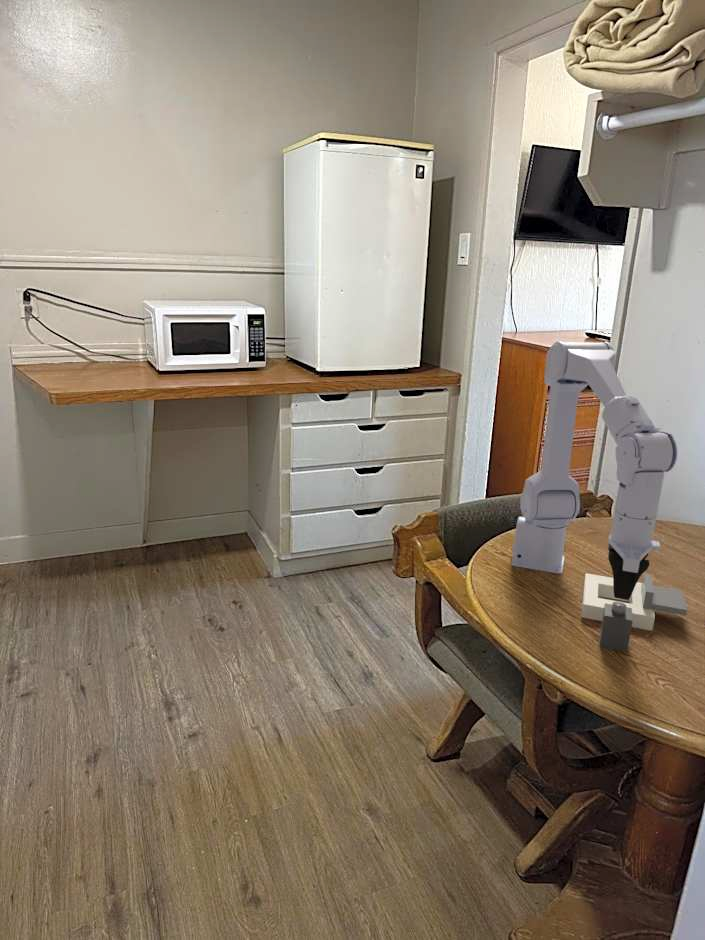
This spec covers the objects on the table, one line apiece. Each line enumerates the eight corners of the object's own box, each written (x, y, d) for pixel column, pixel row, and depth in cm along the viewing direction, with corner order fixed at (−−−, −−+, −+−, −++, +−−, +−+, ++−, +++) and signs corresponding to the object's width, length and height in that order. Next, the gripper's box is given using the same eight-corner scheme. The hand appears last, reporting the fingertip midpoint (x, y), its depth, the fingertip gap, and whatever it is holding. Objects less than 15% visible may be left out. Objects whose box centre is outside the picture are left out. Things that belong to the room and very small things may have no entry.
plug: (599, 646, 104) (605, 608, 102) (599, 633, 108) (605, 596, 106) (627, 652, 103) (633, 613, 101) (626, 638, 107) (633, 601, 105)
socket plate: (581, 617, 112) (583, 604, 112) (583, 585, 123) (585, 573, 122) (652, 630, 109) (654, 617, 108) (648, 596, 120) (650, 584, 119)
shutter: (642, 607, 111) (645, 591, 110) (641, 588, 117) (643, 573, 116) (686, 615, 109) (689, 599, 108) (681, 595, 115) (685, 580, 114)
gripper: (669, 535, 91) (652, 623, 95) (661, 499, 104) (647, 578, 108) (613, 527, 93) (599, 613, 97) (613, 493, 106) (600, 570, 110)
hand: (621, 594), depth 103 cm, fingers closed
